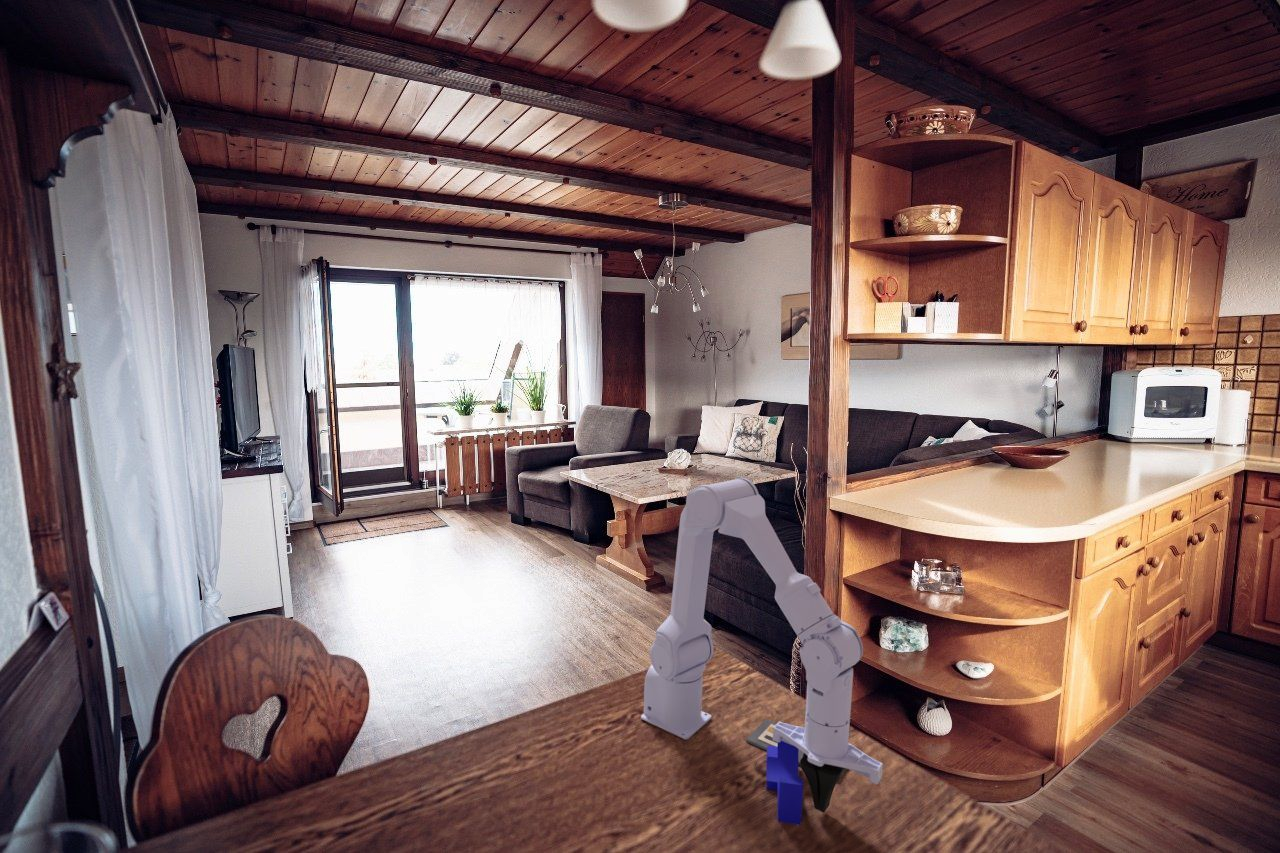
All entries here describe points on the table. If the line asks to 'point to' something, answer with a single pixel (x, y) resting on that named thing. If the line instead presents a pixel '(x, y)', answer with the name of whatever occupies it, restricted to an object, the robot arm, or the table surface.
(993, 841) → the table surface
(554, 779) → the table surface
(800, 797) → the cable clip
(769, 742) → the label board
